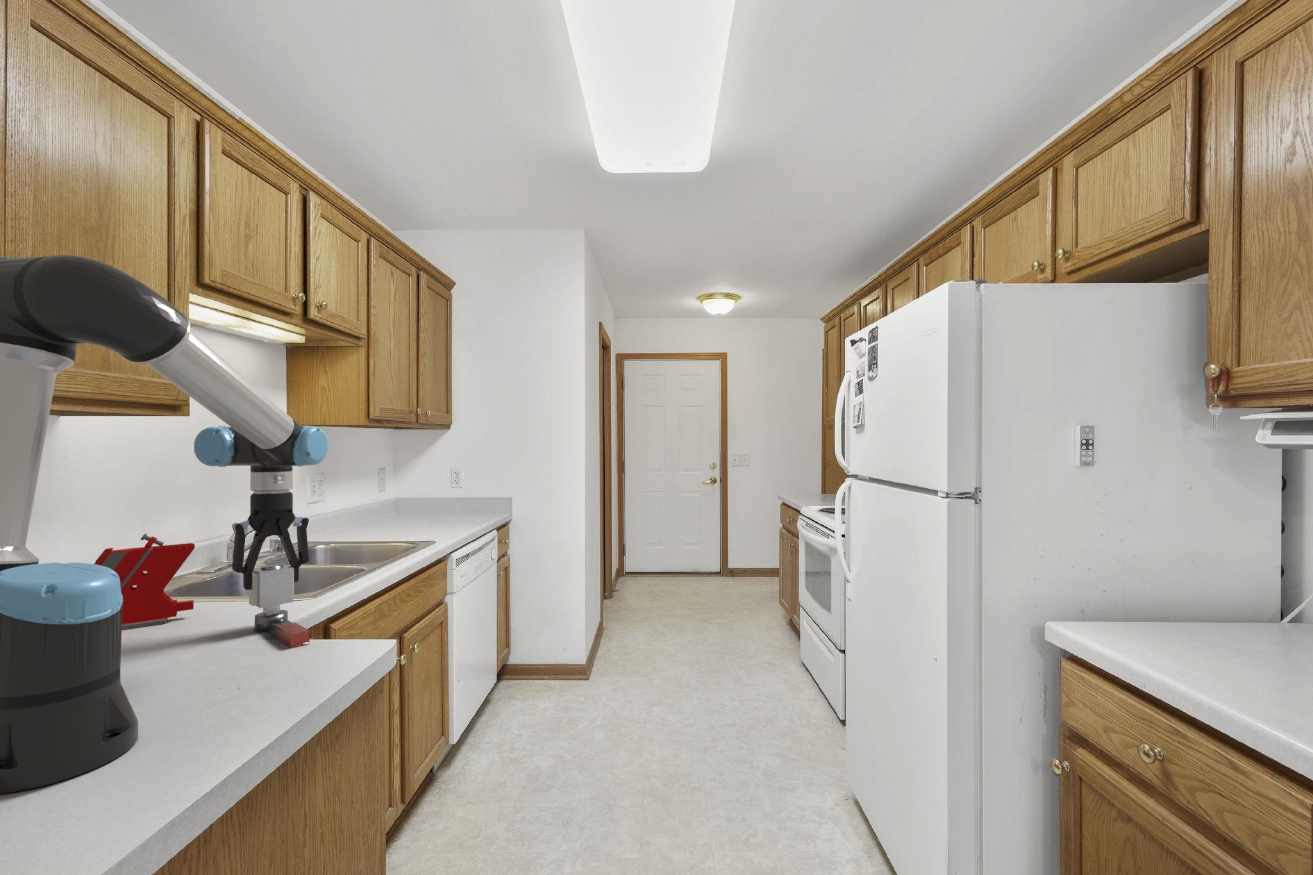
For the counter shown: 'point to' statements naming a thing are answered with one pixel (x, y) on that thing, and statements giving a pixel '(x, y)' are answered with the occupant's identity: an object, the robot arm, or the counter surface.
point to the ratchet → (281, 626)
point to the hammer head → (274, 585)
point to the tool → (147, 580)
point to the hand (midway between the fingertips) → (271, 600)
